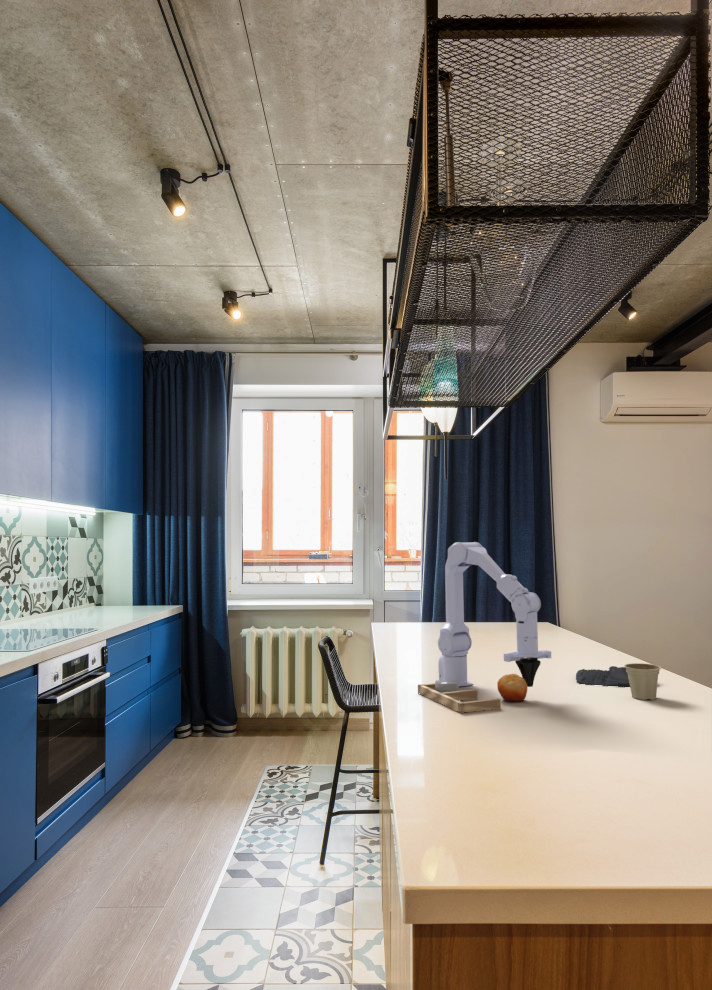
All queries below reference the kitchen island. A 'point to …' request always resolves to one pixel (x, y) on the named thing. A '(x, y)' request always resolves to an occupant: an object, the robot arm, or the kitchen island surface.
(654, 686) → the flower pot
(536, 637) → the robot arm
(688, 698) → the kitchen island surface
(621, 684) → the grey elongated lump
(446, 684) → the grey round dome
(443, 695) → the wooden tray
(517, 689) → the fruit
